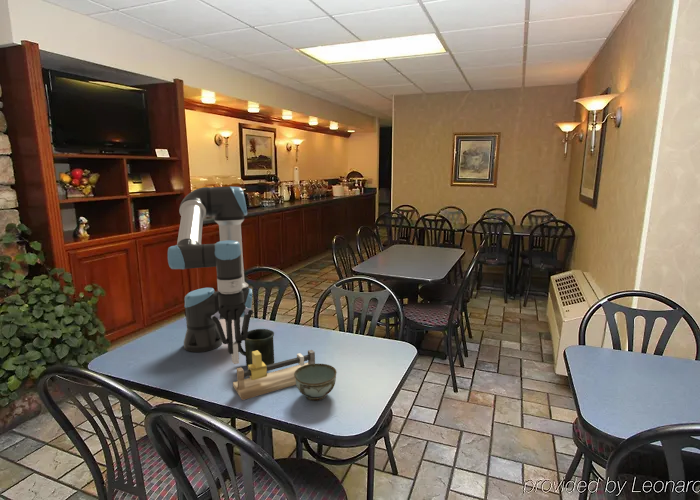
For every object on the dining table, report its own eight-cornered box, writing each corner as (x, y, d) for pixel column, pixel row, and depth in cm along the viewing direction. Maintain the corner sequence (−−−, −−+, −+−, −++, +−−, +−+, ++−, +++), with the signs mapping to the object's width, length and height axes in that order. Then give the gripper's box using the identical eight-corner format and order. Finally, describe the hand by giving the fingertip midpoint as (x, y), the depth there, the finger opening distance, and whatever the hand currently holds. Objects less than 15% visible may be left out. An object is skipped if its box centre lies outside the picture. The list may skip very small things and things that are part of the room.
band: (297, 362, 148) (296, 353, 148) (300, 361, 149) (300, 353, 148) (301, 365, 145) (300, 357, 145) (304, 365, 146) (303, 356, 145)
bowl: (342, 403, 130) (341, 379, 128) (299, 410, 126) (298, 386, 125) (331, 382, 143) (330, 360, 141) (292, 388, 139) (291, 366, 138)
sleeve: (248, 375, 140) (247, 352, 138) (263, 371, 142) (261, 349, 141) (252, 380, 137) (250, 356, 135) (267, 376, 139) (265, 353, 137)
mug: (267, 373, 150) (265, 341, 148) (231, 368, 154) (229, 337, 152) (280, 359, 160) (279, 330, 158) (246, 355, 164) (244, 326, 162)
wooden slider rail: (233, 386, 141) (231, 364, 139) (309, 365, 155) (308, 345, 153) (242, 400, 132) (240, 376, 131) (321, 377, 146) (320, 355, 145)
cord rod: (242, 375, 137) (241, 371, 137) (308, 358, 149) (308, 354, 149) (243, 377, 136) (243, 373, 136) (310, 359, 148) (310, 355, 148)
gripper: (211, 297, 124) (217, 371, 128) (254, 290, 130) (259, 361, 134) (206, 291, 130) (211, 362, 134) (247, 285, 137) (251, 353, 141)
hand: (235, 362), depth 134 cm, fingers closed
